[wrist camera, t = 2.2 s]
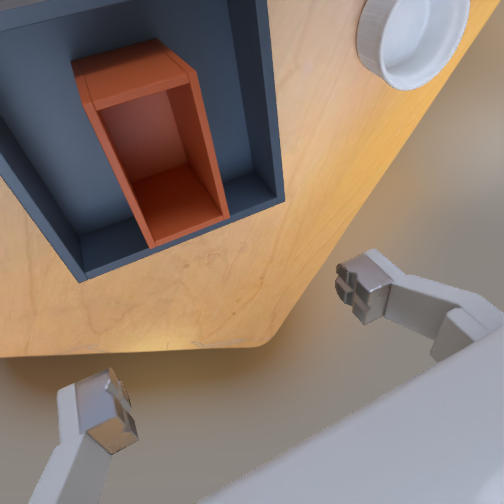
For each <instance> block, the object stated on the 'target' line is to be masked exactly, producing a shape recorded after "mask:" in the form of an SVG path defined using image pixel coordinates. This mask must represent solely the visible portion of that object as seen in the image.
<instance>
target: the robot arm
mask: <svg viewBox="0 0 504 504" xmlns="http://www.w3.org/2000/svg"><path fill="white" fill-rule="evenodd" d="M336 273H337V274H338V277H337V279H336V280H335V288H336V291H337V294H338V295H339V297H340V299H341V300H342V301H343V302H344V303H345V304H348V305H351V306H352V312H353V313H354V315H355V316H356V317H357V318H358V319H359V320H360V321H361V322H362V324H363V325H366V324H368V323H370V322H372V321H374V320H376V319H378V318H381V317H382V316H384V317H385V318H386V319H389V320H391V321H393V322H395V323H397V324H399V325H402V326H404V327H406V328H408V329H410V330H412V331H415V332H417V333H419V334H421V335H423V336H425V337H428V338H430V339H432V340H434V343H433V346H432V348H431V350H430V356H431V357H432V358H433V359H434V360H435V361H436V362H437V364H435V365H434V366H432V367H430V368H428V369H427V370H425V371H423V372H421V373H420V374H418V375H416V376H415V377H413V378H411V379H409V380H408V381H406V382H404V383H402V384H401V385H399V386H398V387H395V388H394V389H392V390H390V391H389V392H387V393H385V394H383V395H382V396H380V397H378V398H376V399H375V400H373V401H371V402H369V403H368V404H366V405H364V406H362V407H361V408H359V409H357V410H356V411H354V412H352V413H350V414H349V415H347V416H345V417H343V418H342V419H340V420H338V421H337V422H335V423H333V424H331V425H330V426H328V427H326V428H324V429H323V430H321V431H319V432H317V433H316V434H314V435H312V436H310V437H309V438H307V439H305V440H303V441H302V442H300V443H299V444H296V445H295V446H293V447H291V448H290V449H288V450H286V451H284V452H283V453H281V454H280V455H277V456H276V457H274V458H272V459H270V460H269V461H267V462H266V463H264V464H262V465H260V466H258V467H257V468H255V469H253V470H251V471H250V472H248V473H247V474H244V475H243V476H241V477H239V478H238V479H236V480H234V481H232V482H231V483H229V484H227V485H225V486H224V487H222V488H220V489H218V490H217V491H215V492H213V493H212V494H210V495H208V496H206V497H205V498H203V499H201V500H199V501H198V502H196V503H194V504H504V314H503V313H502V312H501V311H500V310H498V309H497V308H496V307H495V306H493V305H492V304H490V303H489V302H488V301H487V300H486V299H484V298H483V297H482V296H480V295H479V294H476V293H473V292H469V291H466V290H463V289H459V288H456V287H452V286H449V285H445V284H442V283H438V282H435V281H432V280H428V279H425V278H422V277H418V276H414V275H406V274H404V273H403V272H402V271H401V270H400V269H399V268H398V267H396V266H395V265H394V264H393V263H392V262H391V261H390V260H388V259H387V258H386V257H385V256H384V255H383V254H381V253H380V252H379V251H378V250H376V249H371V250H369V251H366V252H364V253H362V254H359V255H357V256H355V257H353V258H351V259H349V260H346V261H344V262H342V263H340V264H338V265H337V267H336ZM130 409H131V404H130V399H129V396H128V394H127V391H126V389H125V387H124V385H123V383H122V382H121V380H118V379H116V376H115V372H114V371H113V370H112V369H111V368H108V369H106V370H104V371H101V372H100V373H97V374H94V375H92V376H90V377H88V378H85V379H83V380H81V381H78V382H76V383H73V384H71V385H69V386H67V387H65V388H62V389H60V390H58V393H57V410H58V422H59V423H58V424H59V439H60V445H58V446H57V447H55V448H54V450H53V452H52V454H51V456H50V459H49V460H48V463H47V465H46V467H45V469H44V471H43V473H42V475H41V477H40V479H39V482H38V484H37V486H36V488H35V490H34V492H33V494H32V496H31V498H30V501H29V503H28V504H99V501H100V498H101V494H102V490H103V487H104V484H105V480H106V477H107V473H108V470H109V466H110V463H111V459H112V456H111V455H113V454H114V453H116V452H118V451H120V450H122V449H124V448H126V447H127V446H129V445H131V444H133V443H135V442H137V441H138V440H139V439H138V434H137V430H136V425H135V421H134V419H133V418H132V417H131V416H130V414H129V412H130Z"/></svg>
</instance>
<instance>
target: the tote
mask: <svg viewBox="0 0 504 504" xmlns="http://www.w3.org/2000/svg"><path fill="white" fill-rule="evenodd" d="M70 63H71V66H72V70H73V74H74V77H75V81H76V84H77V88H78V92H79V95H80V99H81V102H82V106H83V108H84V110H85V112H86V114H87V116H88V119H89V121H90V123H91V125H92V127H93V129H94V131H95V134H96V136H97V138H98V140H99V142H100V144H101V146H102V148H103V151H104V153H105V155H106V157H107V159H108V161H109V163H110V165H111V168H112V170H113V172H114V174H115V176H116V178H117V180H118V183H119V185H120V187H121V189H122V191H123V193H124V195H125V197H126V200H127V202H128V204H129V206H130V208H131V210H132V212H133V214H134V217H135V219H136V221H137V223H138V225H139V227H140V229H141V232H142V234H143V236H144V238H145V240H146V242H147V244H148V246H149V249H152V248H155V247H156V246H160V245H162V244H165V243H168V242H170V241H173V240H175V239H178V238H180V237H183V236H185V235H188V234H190V233H193V232H195V231H198V230H200V229H203V228H206V227H208V226H211V225H213V224H216V223H218V222H221V221H223V220H226V219H228V218H230V214H229V210H228V206H227V201H226V197H225V193H224V188H223V184H222V180H221V175H220V171H219V167H218V163H217V158H216V154H215V150H214V145H213V141H212V137H211V132H210V128H209V124H208V120H207V115H206V111H205V107H204V102H203V98H202V94H201V89H200V85H199V81H198V77H197V72H196V71H195V70H194V69H193V68H192V67H191V66H189V65H188V64H187V63H186V62H185V61H184V60H182V59H181V58H180V57H179V56H178V55H176V54H175V53H174V52H173V51H172V50H170V49H169V48H168V47H167V46H166V45H164V44H163V43H162V42H161V41H160V40H158V39H157V38H155V39H151V40H147V41H143V42H140V43H136V44H132V45H129V46H125V47H121V48H117V49H114V50H110V51H106V52H103V53H99V54H95V55H92V56H88V57H84V58H80V59H77V60H73V61H70Z"/></svg>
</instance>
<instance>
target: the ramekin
mask: <svg viewBox="0 0 504 504" xmlns="http://www.w3.org/2000/svg"><path fill="white" fill-rule="evenodd" d="M469 8H470V0H368V1H367V3H366V5H365V7H364V9H363V11H362V14H361V17H360V21H359V24H358V30H357V39H356V40H357V52H358V55H359V58H360V60H361V62H362V64H363V65H364V66H365V67H366V68H367V69H368V70H369V71H371V72H372V73H374V74H375V75H377V76H379V77H380V78H382V79H384V80H385V82H387V83H388V84H389V85H390V86H391V87H393V88H395V89H397V90H402V91H409V90H413V89H416V88H418V87H421V86H422V85H424V84H426V83H427V82H429V81H430V80H431V79H432V78H434V77H435V76H436V75H437V74H438V73H439V72H440V71H441V70H442V69H443V67H444V66H445V65H446V64H447V63H448V61H449V60H450V58H451V57H452V55H453V54H454V52H455V50H456V49H457V46H458V45H459V43H460V40H461V38H462V35H463V33H464V30H465V27H466V24H467V20H468V15H469Z"/></svg>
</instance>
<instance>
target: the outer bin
mask: <svg viewBox="0 0 504 504" xmlns="http://www.w3.org/2000/svg"><path fill="white" fill-rule="evenodd" d="M155 38H157V39H158V40H160V41H161V42H162V43H163V44H164V45H166V46H167V47H168V48H169V49H170V50H172V51H173V52H174V53H175V54H176V55H178V56H179V57H180V58H181V59H182V60H184V61H185V62H186V63H187V64H188V65H189V66H191V67H192V68H193V69H194V70H195V71H196V72H197V77H198V81H199V85H200V89H201V94H202V98H203V102H204V107H205V111H206V115H207V120H208V124H209V128H210V132H211V137H212V141H213V145H214V150H215V154H216V158H217V163H218V167H219V171H220V175H221V180H222V184H223V188H224V193H225V197H226V201H227V206H228V210H229V214H230V218H228V219H226V220H223V221H221V222H218V223H216V224H213V225H211V226H208V227H206V228H203V229H200V230H198V231H195V232H193V233H190V234H188V235H185V236H183V237H180V238H178V239H175V240H173V241H170V242H168V243H165V244H162V245H160V246H156V247H155V248H152V249H149V246H148V244H147V242H146V240H145V238H144V236H143V234H142V232H141V229H140V227H139V225H138V223H137V221H136V219H135V217H134V214H133V212H132V210H131V208H130V206H129V204H128V202H127V200H126V197H125V195H124V193H123V191H122V189H121V187H120V185H119V183H118V180H117V178H116V176H115V174H114V172H113V170H112V168H111V165H110V163H109V161H108V159H107V157H106V155H105V153H104V151H103V148H102V146H101V144H100V142H99V140H98V138H97V136H96V134H95V131H94V129H93V127H92V125H91V123H90V121H89V119H88V116H87V114H86V112H85V110H84V108H83V106H82V102H81V99H80V95H79V92H78V88H77V84H76V81H75V77H74V74H73V70H72V66H71V63H70V61H73V60H77V59H80V58H84V57H88V56H92V55H95V54H99V53H103V52H106V51H110V50H114V49H117V48H121V47H125V46H129V45H132V44H136V43H140V42H143V41H147V40H151V39H155ZM0 176H1V177H2V178H3V180H4V181H5V183H6V184H7V185H8V187H9V188H10V189H11V191H12V192H13V194H14V195H15V196H16V198H17V199H18V200H19V202H20V203H21V205H22V206H23V207H24V209H25V210H26V211H27V213H28V214H29V216H30V217H31V218H32V220H33V221H34V222H35V224H36V225H37V227H38V228H39V229H40V231H41V232H42V233H43V235H44V236H45V238H46V239H47V240H48V242H49V243H50V244H51V246H52V247H53V249H54V250H55V251H56V253H57V254H58V255H59V257H60V258H61V260H62V261H63V262H64V264H65V265H66V266H67V268H68V269H69V271H70V272H71V273H72V275H73V276H74V277H75V279H76V280H77V282H78V283H81V282H84V281H86V280H88V279H92V278H94V277H97V276H99V275H102V274H104V273H107V272H109V271H112V270H114V269H117V268H119V267H122V266H124V265H127V264H129V263H132V262H134V261H137V260H139V259H142V258H144V257H147V256H149V255H152V254H154V253H157V252H159V251H162V250H164V249H167V248H169V247H172V246H175V245H177V244H180V243H182V242H185V241H187V240H190V239H192V238H195V237H197V236H200V235H202V234H205V233H207V232H210V231H212V230H215V229H217V228H220V227H222V226H225V225H227V224H230V223H232V222H235V221H237V220H240V219H242V218H245V217H247V216H250V215H252V214H255V213H257V212H260V211H262V210H265V209H267V208H270V207H273V206H275V205H277V204H280V203H282V202H285V192H284V181H283V170H282V159H281V149H280V138H279V127H278V116H277V105H276V94H275V83H274V72H273V61H272V51H271V40H270V29H269V18H268V7H267V0H0Z"/></svg>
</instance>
